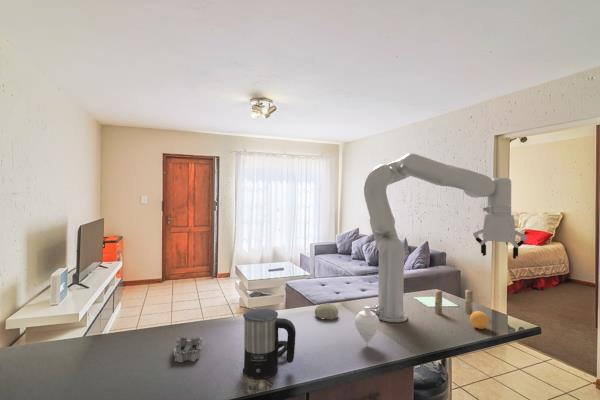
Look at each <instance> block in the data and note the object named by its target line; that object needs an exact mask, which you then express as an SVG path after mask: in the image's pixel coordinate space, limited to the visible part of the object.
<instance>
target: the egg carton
mask: <svg viewBox="0 0 600 400" xmlns="http://www.w3.org/2000/svg"><path fill="white" fill-rule="evenodd" d="M203 342H204V337H196V338H194V337H191V338H190V339H187V337H186V336H181V335H180V334H179V335H178V336H177V339H176V343H175V346H174V349H173V356H174V362H176V361H178V362H182V363H184V362H185V361H190V360H191V361H193V362H196V361H197V360H200V359H201V352H200V351H202V350H201V349H202V344H203ZM193 345H197V346H195V349H193V347H194V346H193ZM182 346H185V347H182ZM192 346H193V347H192ZM181 347H182V348H183V351H182V348H181ZM192 350H193V351H192ZM199 358H200V359H199ZM196 359H197V360H196ZM184 360H185V361H184ZM195 360H196V361H195ZM191 361H190V362H191ZM178 362H177V363H178Z"/></svg>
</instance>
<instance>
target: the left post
mask: <svg viewBox="0 0 600 400" xmlns="http://www.w3.org/2000/svg"><path fill="white" fill-rule="evenodd" d="M434 295H435V296H434V297H435V307H434V313H435V314H436V315H442V314H443V307H442V297H443V291H442V290H440V289H439V290H435V291H434Z"/></svg>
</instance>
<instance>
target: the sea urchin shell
mask: <svg viewBox="0 0 600 400" xmlns="http://www.w3.org/2000/svg"><path fill="white" fill-rule="evenodd" d="M314 315H315V316H316V317H317V318H318V317H319V318H318V319H320V318H324V319H331V320H334V319H333V318H335V319H337V318H338V315H339V308H338V307H337V306H336V305H335V304H332V303H321V304H319V305H317V306H316V307H315V308H314Z"/></svg>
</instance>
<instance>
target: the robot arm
mask: <svg viewBox="0 0 600 400" xmlns="http://www.w3.org/2000/svg"><path fill="white" fill-rule="evenodd" d="M409 177H413V178H416V179H419V180H422V181H424V182H426V183H430V184H433V185H434V186H435V185H436V186H440V187H448V188H449V187H451V188H456V189H459V190H462V191H463V192H464V193H465V194H466V196H469V197H470V198H474V199H475V198H477V199H478V198H486V197H487V206H486V207H483V208H482V209H483V210H482V211H483V212H486V213H487V214H485V215H484V219H483V225H482V226H483V227H482V228H481V230H478V231H475V232H473V234H472V235H473V237H474V238H475V241H477V243H478V244H480V254H482V256H483V257H485V256H486V255H487V245H486V243H487V242H496V243H497V242H498V243H499V242H500V243H510V244H511V245H513V248H512V259H514V260H516V259H517V257H519V247H521V246H522V245H524V244H525V242H526V241H527V239H528V235H526V234H524V233H522V232H520V231H519V230H517V229H516V221H515V216H514V215H513V214H512V179H510V178H508V177H495V178H491V177H489V176H487V175H485V174H482V173H479V172H477V171H473V170H470V169H467V168H464V167H463V168H461V167H459V166H454V165H450V164H446V163H443V162H439V161H437V160H433V159H431V158H428V157H425V156H423V155H420V154H416V153H407V154H405V155H403V156H402V157H400V158H399V159H397V160H395V161H394V160H393V161H392V162H390V163H387V164H386V163H381V164H378V165H377V166H375V167H374V168H373V169H372V170H371V171H370V172H369V174H367V176H366V179H365V182H364V185H363V186H364V187H363V195H364V200H365V204H366V208H367V210H368V215H369V225H370V229H371V232H372V235H373V238H374V239H373V240H374V241H375V245H376V248H377V250H378V271H377V272H378V273H377V274H378V275H377V277H378V282H377V283H378V284H377V285H378V286H377V287H378V288H377V289H378V290H377V291H378V294H377V295H378V297H377V299H378V300H377V302H378V303H375V305H373V306H370V305H368V306H369V307H370V311H371V312H374V313H375V314H376V315H377V317H378V318H379V321H383V322H387V323H403V322H406V321H407V320H408V314H407V313H406V312H404V284H405V283H404V281H405V279H404V278H405V276H404V275H405V273H404V272H405V271H404V270H405V269H404V267H405V257H406V249H405V245H404V243H403V241H402V240H401V239H400V238H399V236H398V234H397V229H396V219H395V217H394V214H393V212H392V209H391V205H390V202H389V200H388V195H387V189H388V188H387V187H388V186H390V185H392V184H394V183H397V182H400V181H403V180H405V179H407V178H409ZM481 234H482V238H483V239H481V238H480V236H479V235H481ZM517 236H518V237H520V238H521V239H520V241H518V242H517V241H516V237H517Z"/></svg>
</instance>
